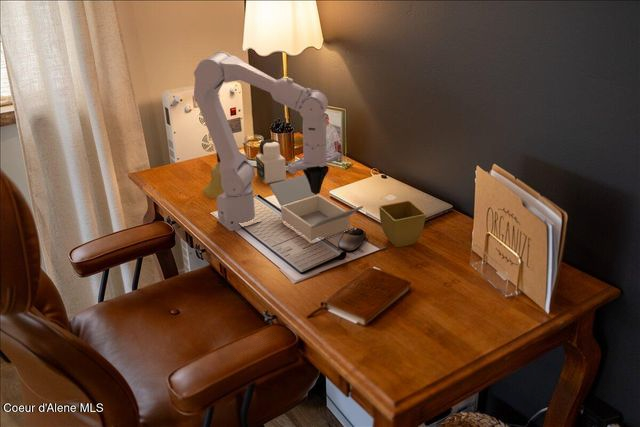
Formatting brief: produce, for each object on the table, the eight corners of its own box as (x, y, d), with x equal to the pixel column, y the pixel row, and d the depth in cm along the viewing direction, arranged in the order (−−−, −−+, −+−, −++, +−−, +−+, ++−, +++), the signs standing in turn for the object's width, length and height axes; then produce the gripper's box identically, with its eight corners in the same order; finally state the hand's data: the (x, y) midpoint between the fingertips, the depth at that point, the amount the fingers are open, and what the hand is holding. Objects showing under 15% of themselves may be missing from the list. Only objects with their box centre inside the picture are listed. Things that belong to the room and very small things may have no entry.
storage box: (311, 244, 148) (310, 226, 146) (281, 222, 158) (281, 206, 156) (349, 230, 154) (349, 213, 152) (318, 210, 164) (318, 194, 162)
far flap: (269, 184, 158) (269, 185, 159) (281, 205, 156) (280, 206, 156) (305, 174, 164) (305, 174, 164) (317, 194, 162) (316, 194, 162)
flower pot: (377, 237, 151) (378, 205, 147) (407, 230, 153) (409, 199, 149) (392, 253, 143) (394, 220, 139) (424, 246, 146) (427, 214, 142)
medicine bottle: (256, 175, 186) (254, 139, 181) (278, 171, 189) (276, 136, 184) (264, 184, 181) (262, 147, 175) (286, 179, 183) (284, 143, 178)
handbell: (195, 188, 179) (186, 107, 167) (231, 177, 185) (224, 99, 174) (215, 202, 170) (206, 118, 158) (252, 191, 176) (246, 109, 165)
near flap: (311, 226, 145) (312, 228, 145) (323, 218, 140) (324, 220, 139) (349, 213, 151) (350, 215, 151) (362, 205, 145) (363, 207, 145)
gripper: (298, 153, 138) (300, 205, 144) (348, 140, 145) (347, 190, 152) (282, 144, 143) (284, 195, 150) (331, 132, 151) (331, 181, 157)
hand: (315, 192), depth 151 cm, fingers closed
